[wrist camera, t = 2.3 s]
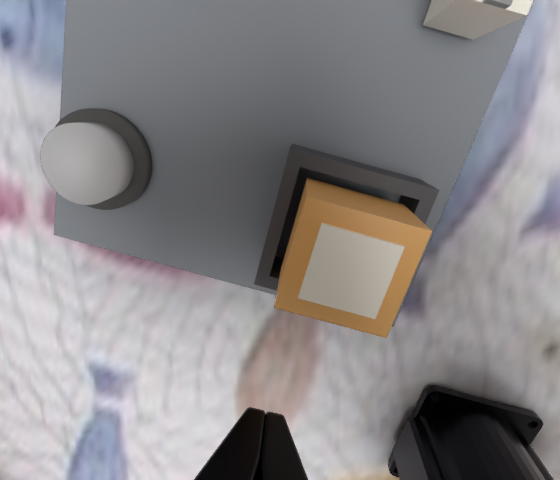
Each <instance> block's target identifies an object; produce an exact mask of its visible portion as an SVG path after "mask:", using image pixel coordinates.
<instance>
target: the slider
mask: <svg viewBox="0 0 560 480" xmlns="http://www.w3.org/2000/svg"><path fill="white" fill-rule="evenodd" d="M532 3H533V0H431V3H430V6H429V9H428V12H427V15H426V18H425V20H424V23H423V25H424V26H427V27H431V28H434V29H438V30H441V31H445V32H448V33H452V34H455V35H459V36H462V37H466V38H469V39H473V40H474V39H476V38H478V37H481V36H483V35H485V34H487V33H489V32H492V31H494V30H496V29H498V28H500V27H503V26H505V25H507V24H509V23H511V22H514V21H516V20H518V19H520V18H522V17H525V16H527V14H528V12H529V10H530V7H531V5H532Z"/></svg>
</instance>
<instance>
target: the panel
mask: <svg viewBox="0 0 560 480" xmlns="http://www.w3.org/2000/svg"><path fill="white" fill-rule="evenodd" d="M533 2H534V0H533ZM430 3H431V0H66V16H65V35H64V54H63V72H62V91H61V110H60V121H59V122H58V124H57V125H56V127H55V128H54V129H52V130H51V131H50V132H49V133H48V134H47V136H46V137H45V139H44V141H43V143H42V147H41V152H40V160H41V166H42V170H43V173H44V175H45V177H46V179H47V181H48V182H49V184H50V185H51V186H52V188H53V189H54V190H55V191H56V205H55V223H54V235H57V236H60V237H64V238H68V239H71V240H75V241H79V242H82V243H86V244H90V245H93V246H97V247H101V248H105V249H108V250H112V251H116V252H119V253H123V254H127V255H130V256H134V257H138V258H141V259H145V260H149V261H153V262H156V263H160V264H164V265H167V266H171V267H175V268H178V269H182V270H186V271H189V272H193V273H197V274H201V275H204V276H208V277H212V278H215V279H219V280H223V281H226V282H230V283H234V284H237V285H241V286H245V287H249V288H252V289H256V290H260V291H263V292H267V293H271V294H274V295H276V294H277V288H278V282H279V277H280V271H281V266H282V262H283V259H284V255H285V252H286V248H287V245H288V241H289V238H290V235H291V231H292V228H293V224H294V221H295V217H296V214H297V210H298V207H299V203H300V200H301V196H302V193H303V190H304V186H305V183H306V179H307V178H310V179H314V180H318V181H321V182H325V183H328V184H332V185H336V186H339V187H343V188H346V189H350V190H354V191H357V192H361V193H364V194H368V195H372V196H375V197H379V198H383V199H386V200H390V201H393V202H397V203H401V204H404V205H405V206H406V207H407V208H408V209H409V210H410V211H411V212H412V213H413V214H414V215H416V216H417V217H418V218H419V219H420V220H421V221H422V222H423V223H424V224H425V225H426V226H427V227H428V228H429V229H431V230H432V233H431V235H430V238H429V240H428V242H427V245H426V247H425V249H424V252H423V254H422V256H421V259H420V261H419V263H418V266H417V268H416V270H415V273H414V275H413V277H412V280H411V282H410V284H409V287H408V289H407V291H406V294H405V296H404V298H403V301H402V303H401V305H400V308H399V310H398V312H397V315H396V317H395V319H394V322H393V324H392V326H393V327H394V324H395V322H396V320H397V317H398V315H399V313H400V310H401V308H402V306H403V303H404V301H405V299H406V296H407V294H408V292H409V289H410V287H411V285H412V282H413V280H414V278H415V275H416V273H417V271H418V269H419V266H420V264H421V262H422V259H423V257H424V255H425V252H426V250H427V248H428V245H429V243H430V241H431V238H432V236H433V234H434V231H435V229H436V227H437V224H438V222H439V220H440V218H441V215H442V213H443V211H444V208H445V206H446V204H447V201H448V199H449V197H450V194H451V192H452V190H453V187H454V185H455V183H456V180H457V178H458V176H459V173H460V171H461V169H462V167H463V164H464V162H465V160H466V157H467V155H468V153H469V150H470V148H471V146H472V143H473V141H474V139H475V136H476V134H477V132H478V129H479V127H480V125H481V122H482V120H483V118H484V115H485V113H486V111H487V109H488V106H489V104H490V102H491V99H492V97H493V95H494V92H495V90H496V88H497V85H498V83H499V81H500V78H501V76H502V74H503V71H504V69H505V67H506V64H507V62H508V60H509V58H510V55H511V53H512V51H513V48H514V46H515V44H516V41H517V39H518V37H519V34H520V32H521V30H522V27H523V25H524V23H525V20H526V18H527V16H528V14H527V16H525V17H522V18H520V19H518V20H516V21H514V22H511V23H509V24H507V25H505V26H503V27H500V28H498V29H496V30H494V31H492V32H489V33H487V34H485V35H483V36H481V37H478V38H476V39H474V40H473V39H469V38H466V37H462V36H459V35H455V34H452V33H448V32H445V31H441V30H438V29H434V28H431V27H427V26H424V25H423V23H424V20H425V18H426V15H427V12H428V9H429V6H430ZM532 4H533V3H532ZM531 7H532V5H531ZM531 7H530V9H531ZM529 11H530V10H529ZM528 13H529V12H528Z"/></svg>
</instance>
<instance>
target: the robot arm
mask: <svg viewBox="0 0 560 480" xmlns="http://www.w3.org/2000/svg"><path fill="white" fill-rule="evenodd" d="M433 395H436V396H435V397H431V396H433ZM542 425H543V422H542V420H541V419H540V418H539V417H538V415H537V414H536V413H534V412H531V411H527V410H523V409H519V408H516V407H512V406H508V405H505V404H501V403H497V402H493V401H490V400H486V399H482V398H478V397H475V396H471V395H467V394H464V393H460V392H456V391H452V390H449V389H445V388H441V387H438V386H430V387H428V388H426V389H425V390H424V392H423V394H422V396H421V398H420V400H419V402H418V404H417V406H416V408H415V410H414V412H413V414H412V416H411V417H410V418H409V419H408V420H407V422H406V424H405V426H404V428H403V430H402V432H401V434H400V436H399V438H398V440H397V442H396V444H395V446H394V448H393V454H392V456H391V458H390V460H389V462H388V467H389V471H390V473H391V474H392V475H393V476H396V477H399V478H400V480H553V478H552V477H551V475H550V474H549V472H548V471H547V469H546V468H545V466H544V465H543V463H542V462H541V460H540V459H539V457H538V456H537V454H536V453H535V452H534V450H533V449H532V447H531V446H530V444H531V443H532V441H533V440H534V438H535V437H536V435H537V434H538V432H539V431H540V429H541V428H542ZM194 480H308V478H307V475H306V473H305V470H304V467H303V465H302V462H301V459H300V457H299V454H298V452H297V449H296V446H295V444H294V441H293V438H292V436H291V433H290V430H289V428H288V425H287V423H286V420H285V418H284V416H283V415H281V414H277V413H273V412H267V413H266V414H265V411H264V410H260V409H256V408H251V407H249V408H247V409H246V410H245V412H244V413H243V414H242V416H241V417H240V419H239V420H238V421H237V423H236V424H235V425H234V427H233V428H232V429H231V431H230V432H229V433H228V435H227V436H226V437H225V439H224V440H223V441H222V443H221V444H220V445H219V447H218V448H217V449H216V451H215V452H214V453H213V455H212V456H211V457H210V459H209V460H208V461H207V463H206V464H205V465H204V467H203V468H202V469H201V471H200V472H199V473H198V475H197V476H196V477H195V479H194Z"/></svg>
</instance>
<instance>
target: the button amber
mask: <svg viewBox="0 0 560 480" xmlns="http://www.w3.org/2000/svg"><path fill="white" fill-rule="evenodd" d="M431 233H432V230H431V229H429V228H428V227H427V226H426V225H425V224H424V223H423V222H422V221H421V220H420V219H419V218H418V217H417V216H416V215H414V214H413V213H412V212H411V211H410V210H409V209H408V208H407V207H406V206H405V205H404V204H401V203H397V202H393V201H390V200H386V199H383V198H379V197H375V196H372V195H368V194H364V193H361V192H357V191H354V190H350V189H346V188H343V187H339V186H336V185H332V184H328V183H325V182H321V181H318V180H314V179H310V178H307V179H306V183H305V186H304V190H303V193H302V196H301V200H300V203H299V207H298V210H297V214H296V217H295V221H294V224H293V228H292V231H291V235H290V238H289V241H288V245H287V248H286V252H285V255H284V259H283V262H282V266H281V271H280V277H279V282H278V288H277V294H276V299H275V305H274V308H277V309H281V310H285V311H288V312H292V313H296V314H299V315H303V316H307V317H311V318H314V319H318V320H322V321H325V322H329V323H333V324H336V325H340V326H344V327H348V328H351V329H355V330H359V331H362V332H366V333H370V334H374V335H377V336H381V337H385V338H387V336H388V333H389V331H390V329H391V326H392V324H393V322H394V319H395V317H396V315H397V312H398V310H399V308H400V305H401V303H402V301H403V298H404V296H405V294H406V291H407V289H408V287H409V284H410V282H411V280H412V277H413V275H414V273H415V270H416V268H417V266H418V263H419V261H420V259H421V256H422V254H423V252H424V249H425V247H426V245H427V242H428V240H429V238H430V235H431Z"/></svg>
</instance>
